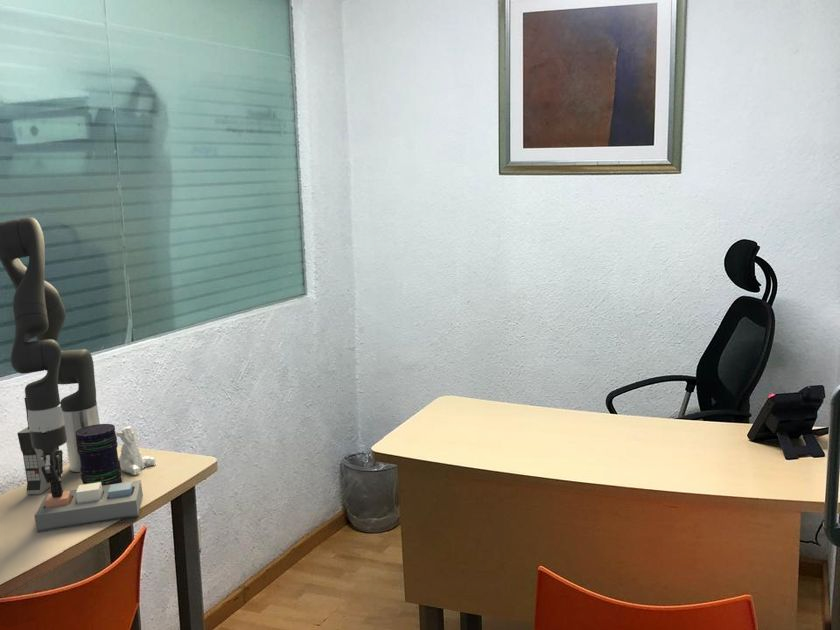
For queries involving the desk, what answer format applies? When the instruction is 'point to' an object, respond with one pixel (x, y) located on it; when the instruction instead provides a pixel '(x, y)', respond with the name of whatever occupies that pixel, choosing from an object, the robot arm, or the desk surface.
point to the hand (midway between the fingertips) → (57, 496)
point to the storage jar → (98, 454)
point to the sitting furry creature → (132, 453)
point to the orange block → (58, 500)
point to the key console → (89, 510)
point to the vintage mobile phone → (32, 462)
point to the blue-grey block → (120, 490)
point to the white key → (89, 492)
